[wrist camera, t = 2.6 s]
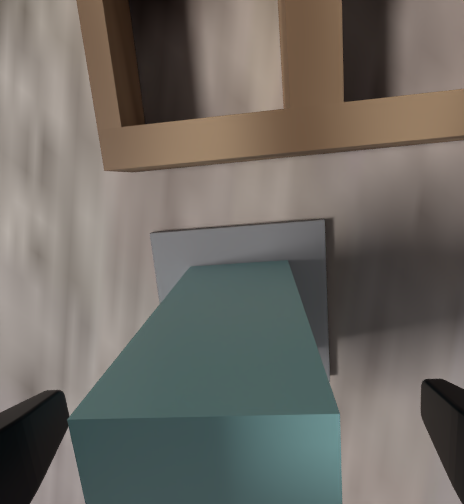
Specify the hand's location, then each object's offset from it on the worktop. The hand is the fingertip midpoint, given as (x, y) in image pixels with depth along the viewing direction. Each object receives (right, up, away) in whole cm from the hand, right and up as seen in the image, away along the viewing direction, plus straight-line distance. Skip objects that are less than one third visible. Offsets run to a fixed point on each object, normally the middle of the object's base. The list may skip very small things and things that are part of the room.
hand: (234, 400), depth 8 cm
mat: (0, +1, +6) cm, 6 cm away
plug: (0, +1, +6) cm, 6 cm away
